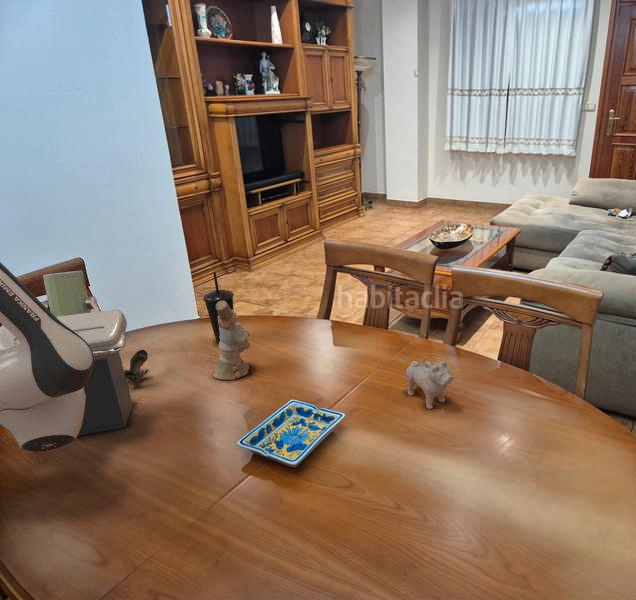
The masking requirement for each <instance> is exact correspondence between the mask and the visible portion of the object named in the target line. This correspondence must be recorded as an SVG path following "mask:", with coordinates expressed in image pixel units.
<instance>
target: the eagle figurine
mask: <svg viewBox="0 0 636 600" xmlns="http://www.w3.org/2000/svg"><path fill="white" fill-rule="evenodd" d="M148 356H149V355H148V352H147V350H145V349H140V350H137V351H136V352H135V354H134V355H133V356H132V357H131V358H130V360H129V364H130V365H129V369H125V368H124V373H125V376H126V378H129V379H130V380H128V381H127V384H130V383H132V384H133V388H134V390H135V389H137V387H138V385H139V383H140V380H141V379H147V380H148V379H149V378H148V376H147V373H148V371H149V368H147V369H145V370H144V372H143V369H141V368H142V366H144V364H145V363H146V362H147V361H148Z"/></svg>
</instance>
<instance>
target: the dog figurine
mask: <svg viewBox="0 0 636 600" xmlns="http://www.w3.org/2000/svg"><path fill="white" fill-rule="evenodd" d="M405 377H406V379H407V380H406V381H407V395H409V396H414V395H415V394H416V393H415V392H414V390H413V388H414V386H415V385H417V386H418V387H419V388H420V389H421V390H422V392H423V394H424V395H425V404H426V405H425V406H426V407H425V408H427V409H429V410H430V409H433V408H434V406H433V401H434V397H435V396H438V398H437V399H438V401H439V402H441V403H444V402H446V398H445V391H446V390H447V388H448V386H449V384H452V383H453V381H454V380H455V376H454V375H453V374H452V373H451V370H450V369H449V368H448V366H447V361H446V360H443V361H442V360H441V361H440V362H435V363H434V364H433V363H432V361H430V360H426V361H424V363H423V362H419V361H418V360H412V361H411V363H410V365H409V366H408V367H407V369H406V371H405Z"/></svg>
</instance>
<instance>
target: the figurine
mask: <svg viewBox="0 0 636 600" xmlns="http://www.w3.org/2000/svg"><path fill="white" fill-rule="evenodd" d="M216 310H217V312H218V315H219V316H218V317H217V318H218V323H219V324H218V326H220V327H219V334H220V336H219V338H220V342H219V345H217V346H218V349H219V351H220V355H219V356H218V357H217V358H216V364H215V369H214V371H213V373H212V376H213V377H214V378H216V379H218V380H227V381H228V380H236V379H240V378H241V377H244V376H246V375H247V374H248V373H249V369H250V365H249V364H248V362H247V361H245V360H244V359H243V358H242V357H241V353H243V352H244V351H246V350H248V349H249V348H251V342H250V341H248V338H249V337H250V336H251V333H250V331H248V330H247V329H246V328H245V327H244V326H243V325H242V324H241V323H240V322H239V320H240V317H239V315H237V313H236V312H235V311H234V312H233V310H232V309H231V308H230V307H229V305H228V304H227V302H226V301H219V302H218V303H217V304H216Z"/></svg>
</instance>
